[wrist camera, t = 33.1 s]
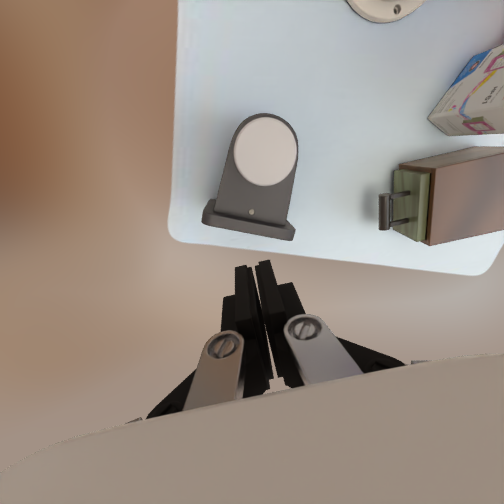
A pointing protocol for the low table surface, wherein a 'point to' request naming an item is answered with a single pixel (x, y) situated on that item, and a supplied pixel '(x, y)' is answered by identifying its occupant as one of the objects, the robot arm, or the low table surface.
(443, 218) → the cabinet
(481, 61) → the ink box
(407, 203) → the drawer
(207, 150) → the low table surface
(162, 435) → the robot arm
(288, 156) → the light fixture
